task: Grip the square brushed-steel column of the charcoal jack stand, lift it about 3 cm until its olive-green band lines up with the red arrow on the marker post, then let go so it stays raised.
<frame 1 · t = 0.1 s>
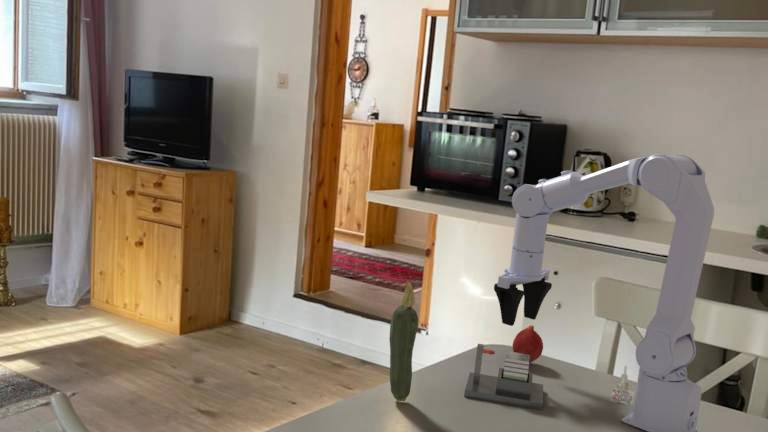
hand: (519, 321, 138), 10 cm above the table, fingers open, 7 cm apart
jack base: (512, 395, 128), on the table
onion: (525, 365, 145), on the table
vegetable: (396, 404, 120), on the table
column: (515, 372, 127), point 4 cm above the table, slide at 0.0 cm
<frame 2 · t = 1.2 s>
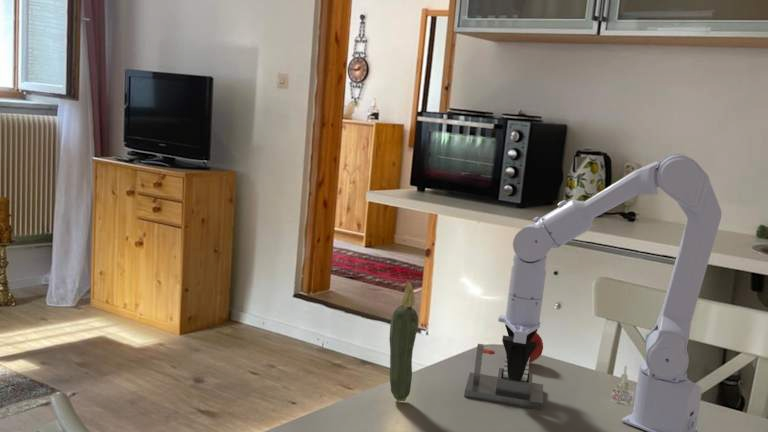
hand: (515, 371, 127), 4 cm above the table, fingers open, 7 cm apart
nothing on the table moved.
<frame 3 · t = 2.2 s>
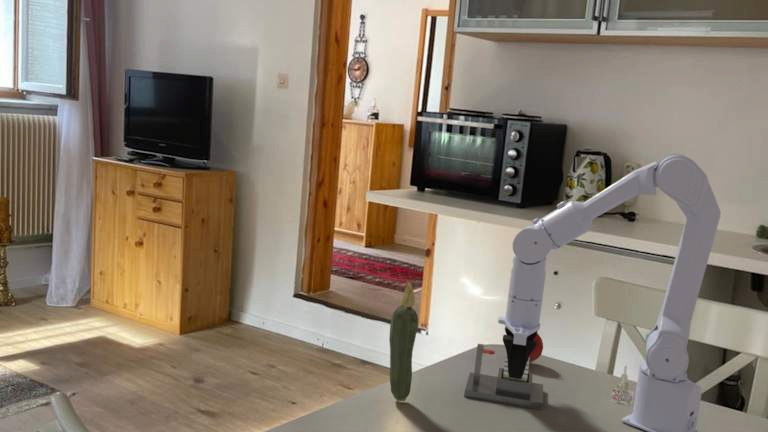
hand: (515, 373, 127), 4 cm above the table, fingers closed on column, 4 cm apart
column: (515, 372, 127), point 4 cm above the table, slide at 0.0 cm, touching gripper
everything else where it was.
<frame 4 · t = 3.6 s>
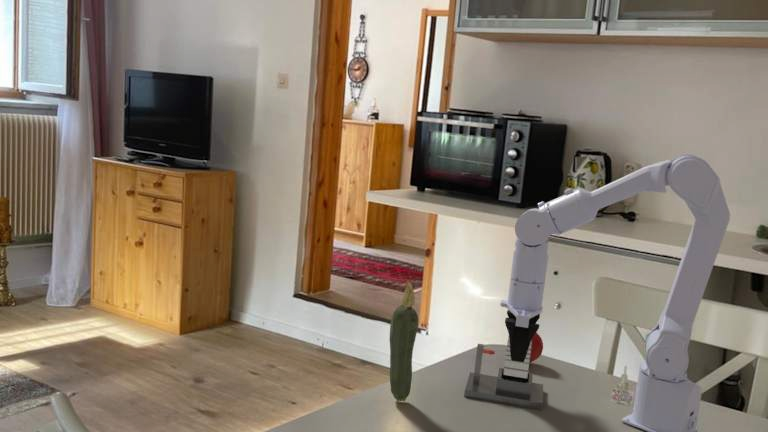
hand: (517, 356, 127), 7 cm above the table, fingers closed on column, 4 cm apart
column: (517, 356, 127), point 7 cm above the table, slide at 2.8 cm, touching gripper
everything else where it was.
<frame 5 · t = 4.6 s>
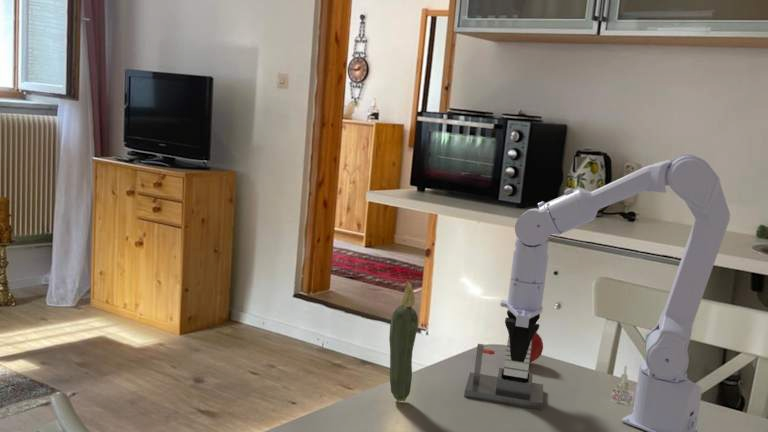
hand: (517, 356, 127), 7 cm above the table, fingers closed on column, 4 cm apart
column: (517, 356, 127), point 7 cm above the table, slide at 2.8 cm, touching gripper
everything else where it was.
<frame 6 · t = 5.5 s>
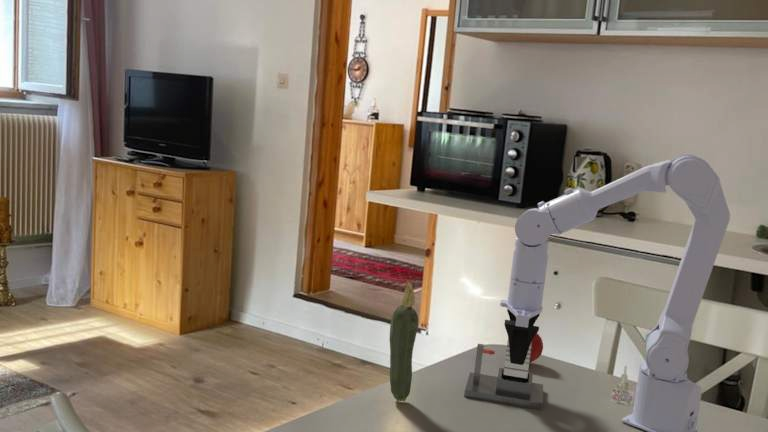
hand: (517, 356, 127), 7 cm above the table, fingers open, 7 cm apart
column: (517, 356, 127), point 7 cm above the table, slide at 2.8 cm
everything else where it was.
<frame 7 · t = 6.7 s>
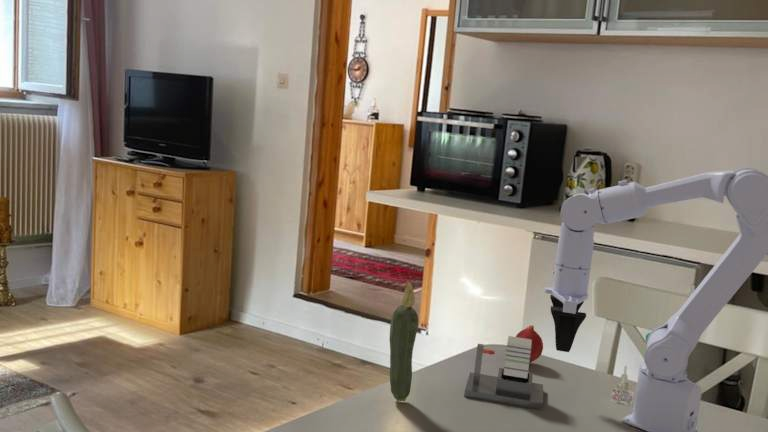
hand: (562, 343, 125), 10 cm above the table, fingers open, 7 cm apart
nothing on the table moved.
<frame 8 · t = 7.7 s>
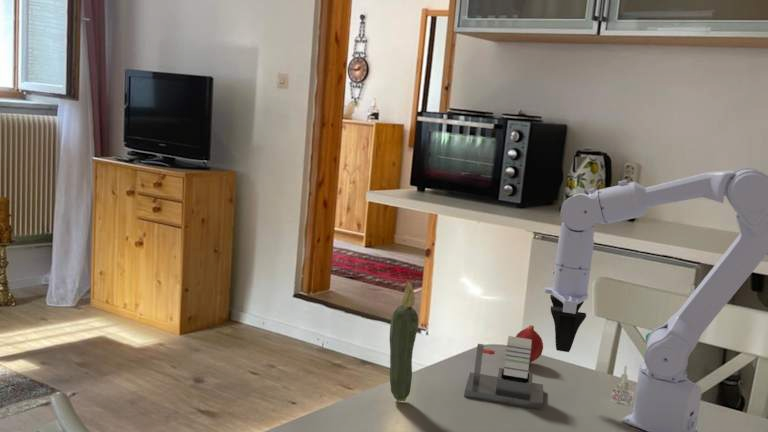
hand: (562, 343, 125), 10 cm above the table, fingers open, 7 cm apart
nothing on the table moved.
at the end: column slide at 2.8 cm; the gripper is holding nothing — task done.
